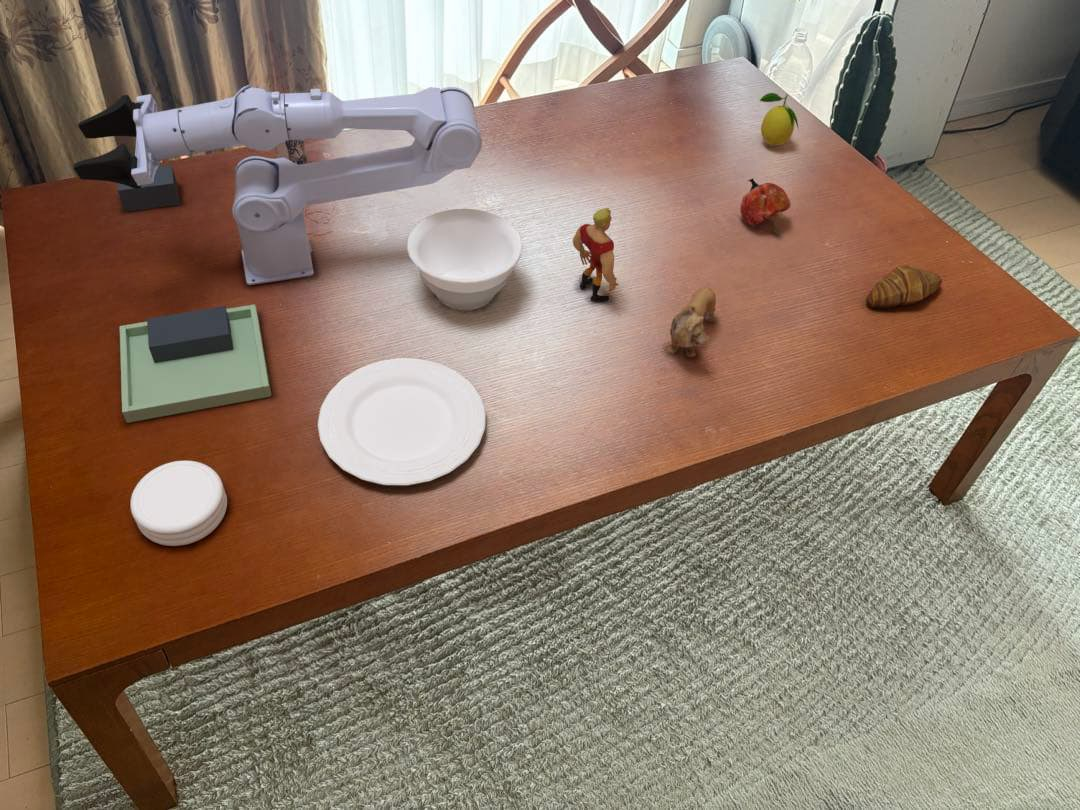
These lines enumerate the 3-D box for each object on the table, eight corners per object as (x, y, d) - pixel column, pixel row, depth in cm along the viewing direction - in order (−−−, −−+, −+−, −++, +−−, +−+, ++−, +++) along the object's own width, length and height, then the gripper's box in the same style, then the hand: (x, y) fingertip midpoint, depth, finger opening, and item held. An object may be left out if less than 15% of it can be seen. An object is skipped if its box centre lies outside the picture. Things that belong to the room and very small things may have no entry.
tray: (258, 315, 128) (255, 304, 127) (271, 396, 119) (268, 385, 117) (123, 337, 124) (119, 325, 123) (126, 423, 115) (121, 412, 113)
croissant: (920, 271, 143) (933, 246, 139) (950, 299, 139) (964, 274, 135) (851, 293, 139) (861, 267, 135) (879, 322, 135) (891, 297, 131)
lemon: (750, 134, 166) (763, 83, 158) (782, 134, 166) (796, 83, 159) (760, 156, 161) (774, 104, 154) (792, 155, 162) (808, 104, 154)
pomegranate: (785, 234, 151) (763, 177, 150) (809, 222, 144) (785, 162, 143) (747, 249, 149) (724, 191, 149) (769, 238, 142) (745, 177, 142)
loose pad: (177, 186, 146) (171, 164, 143) (179, 204, 143) (173, 183, 140) (124, 192, 144) (116, 171, 141) (125, 212, 141) (117, 190, 138)
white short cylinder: (118, 530, 104) (109, 512, 102) (172, 465, 111) (165, 447, 108) (194, 560, 103) (187, 543, 100) (244, 492, 109) (239, 474, 106)
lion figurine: (697, 379, 125) (710, 331, 118) (659, 369, 126) (670, 321, 119) (717, 309, 135) (730, 262, 128) (681, 300, 135) (692, 252, 129)
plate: (345, 515, 108) (343, 506, 106) (301, 390, 120) (299, 380, 118) (510, 464, 114) (511, 454, 112) (452, 350, 126) (452, 340, 125)
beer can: (302, 183, 149) (291, 117, 140) (274, 178, 149) (261, 112, 140) (313, 167, 152) (303, 101, 143) (285, 162, 152) (273, 96, 143)
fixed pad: (229, 322, 126) (225, 305, 124) (233, 349, 123) (229, 333, 121) (152, 334, 124) (146, 318, 122) (154, 363, 121) (148, 347, 118)
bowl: (387, 288, 133) (382, 241, 127) (466, 240, 142) (466, 194, 135) (464, 345, 127) (463, 298, 120) (542, 291, 135) (546, 245, 129)
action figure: (621, 308, 134) (635, 224, 122) (600, 316, 132) (613, 232, 121) (585, 269, 139) (595, 186, 127) (565, 277, 137) (574, 193, 126)
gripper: (175, 68, 118) (68, 87, 117) (172, 146, 110) (58, 167, 109) (196, 112, 124) (95, 131, 123) (195, 188, 116) (87, 209, 115)
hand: (79, 150), depth 117 cm, fingers open, 7 cm apart
